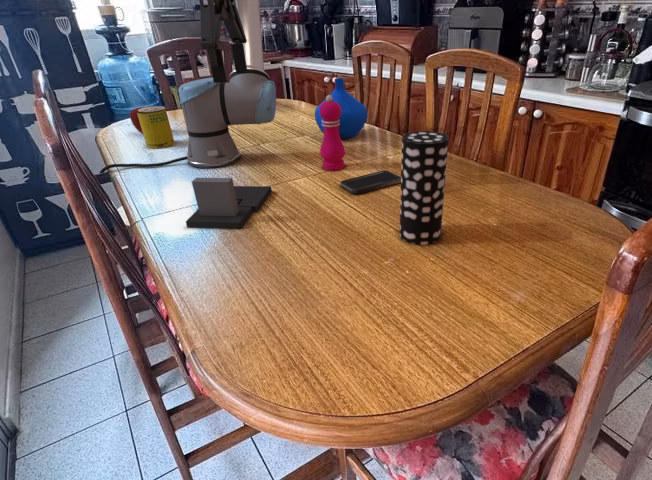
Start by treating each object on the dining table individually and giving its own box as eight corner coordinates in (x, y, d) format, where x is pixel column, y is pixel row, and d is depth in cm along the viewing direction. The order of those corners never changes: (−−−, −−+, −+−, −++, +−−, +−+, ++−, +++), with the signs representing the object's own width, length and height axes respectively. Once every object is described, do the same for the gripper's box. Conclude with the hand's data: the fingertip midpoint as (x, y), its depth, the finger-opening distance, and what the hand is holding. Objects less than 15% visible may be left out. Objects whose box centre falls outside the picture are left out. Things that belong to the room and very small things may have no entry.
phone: (338, 181, 108) (385, 169, 115) (338, 185, 108) (385, 173, 115) (354, 191, 102) (403, 178, 109) (354, 195, 103) (403, 182, 110)
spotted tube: (396, 226, 88) (398, 132, 78) (435, 224, 89) (442, 130, 79) (403, 246, 81) (406, 144, 71) (445, 243, 82) (454, 142, 71)
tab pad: (187, 227, 90) (176, 186, 85) (209, 205, 100) (200, 167, 95) (240, 228, 89) (232, 187, 84) (257, 206, 99) (251, 167, 94)
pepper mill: (342, 171, 118) (338, 98, 107) (317, 170, 119) (311, 97, 109) (348, 163, 124) (345, 92, 113) (325, 162, 125) (319, 92, 115)
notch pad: (199, 211, 97) (197, 205, 96) (218, 191, 107) (217, 185, 107) (257, 212, 96) (256, 206, 95) (271, 191, 106) (271, 186, 105)
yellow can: (179, 141, 148) (171, 106, 142) (165, 149, 140) (155, 112, 134) (156, 140, 149) (147, 106, 143) (141, 148, 142) (130, 112, 136)
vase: (376, 132, 152) (376, 76, 142) (348, 146, 139) (346, 85, 129) (336, 126, 161) (333, 73, 151) (305, 138, 147) (300, 81, 138)
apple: (135, 132, 160) (127, 105, 155) (162, 129, 163) (155, 102, 158) (135, 138, 152) (126, 110, 147) (163, 134, 156) (156, 107, 151)
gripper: (205, -39, 75) (227, 86, 85) (250, -30, 96) (263, 69, 107) (165, -37, 75) (192, 87, 86) (218, -29, 97) (235, 70, 107)
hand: (231, 77), depth 97 cm, fingers open, 13 cm apart
